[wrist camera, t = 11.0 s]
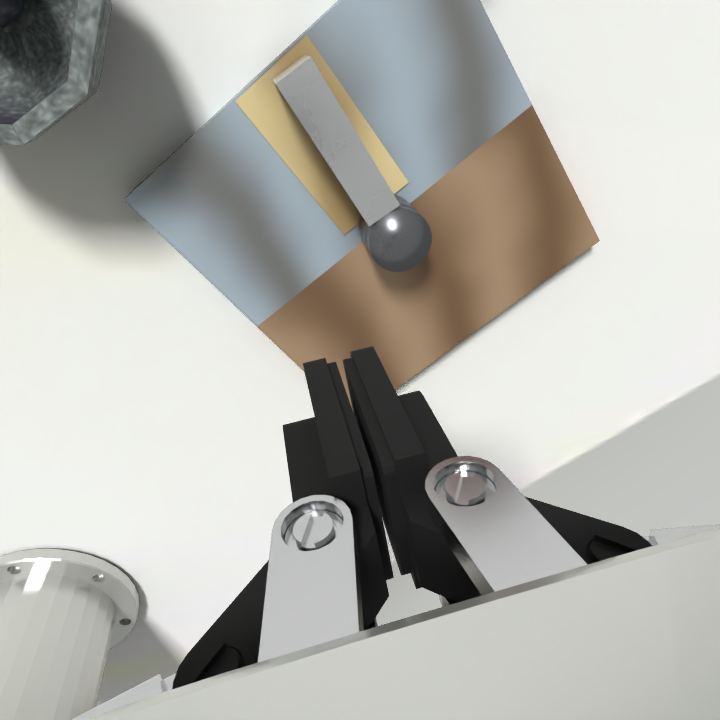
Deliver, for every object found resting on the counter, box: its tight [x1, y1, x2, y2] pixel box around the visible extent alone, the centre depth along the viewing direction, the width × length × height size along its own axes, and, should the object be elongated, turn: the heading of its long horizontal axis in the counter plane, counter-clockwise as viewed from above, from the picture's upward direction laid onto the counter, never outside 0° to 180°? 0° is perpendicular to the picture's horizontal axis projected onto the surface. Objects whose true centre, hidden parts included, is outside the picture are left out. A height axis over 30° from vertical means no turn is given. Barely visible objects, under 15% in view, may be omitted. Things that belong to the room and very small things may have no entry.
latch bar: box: [273, 55, 432, 272], centre depth 26 cm, size 11×3×3 cm, turn 32°
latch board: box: [125, 0, 600, 410], centre depth 30 cm, size 19×19×1 cm
